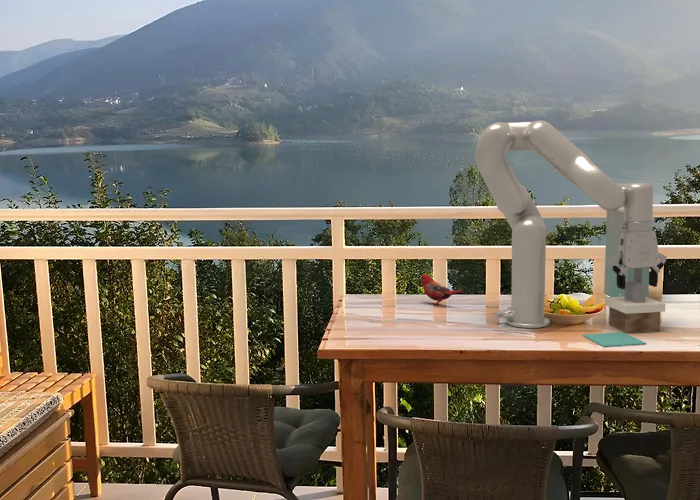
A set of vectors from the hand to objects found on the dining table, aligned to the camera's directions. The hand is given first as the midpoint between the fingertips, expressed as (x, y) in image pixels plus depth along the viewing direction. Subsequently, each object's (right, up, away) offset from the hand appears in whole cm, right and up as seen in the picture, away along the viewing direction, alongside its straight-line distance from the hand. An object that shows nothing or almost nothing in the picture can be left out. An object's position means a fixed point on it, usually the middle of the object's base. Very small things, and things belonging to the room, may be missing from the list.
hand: (637, 287), depth 221 cm
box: (0, -12, +2) cm, 12 cm away
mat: (-10, -14, -11) cm, 20 cm away
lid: (0, -6, +1) cm, 6 cm away
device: (+11, -6, +41) cm, 43 cm away
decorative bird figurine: (-52, -8, +34) cm, 63 cm away
